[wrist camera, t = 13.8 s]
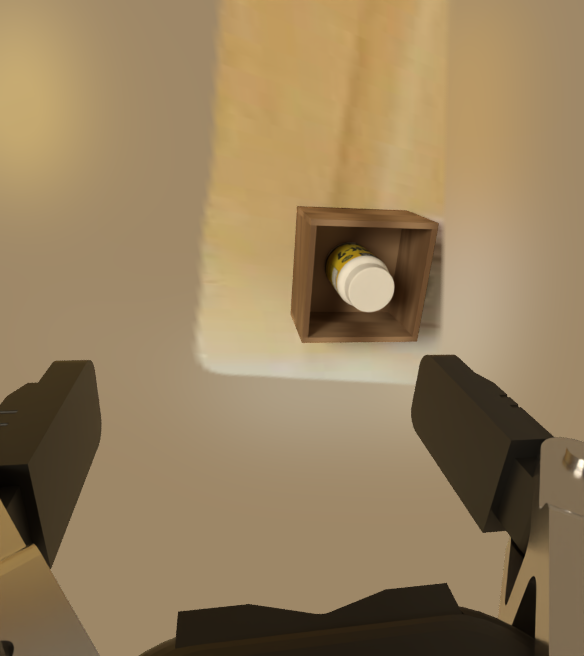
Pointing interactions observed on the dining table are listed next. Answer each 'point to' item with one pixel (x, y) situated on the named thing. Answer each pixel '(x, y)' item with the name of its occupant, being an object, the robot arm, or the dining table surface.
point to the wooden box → (386, 244)
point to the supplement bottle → (359, 277)
